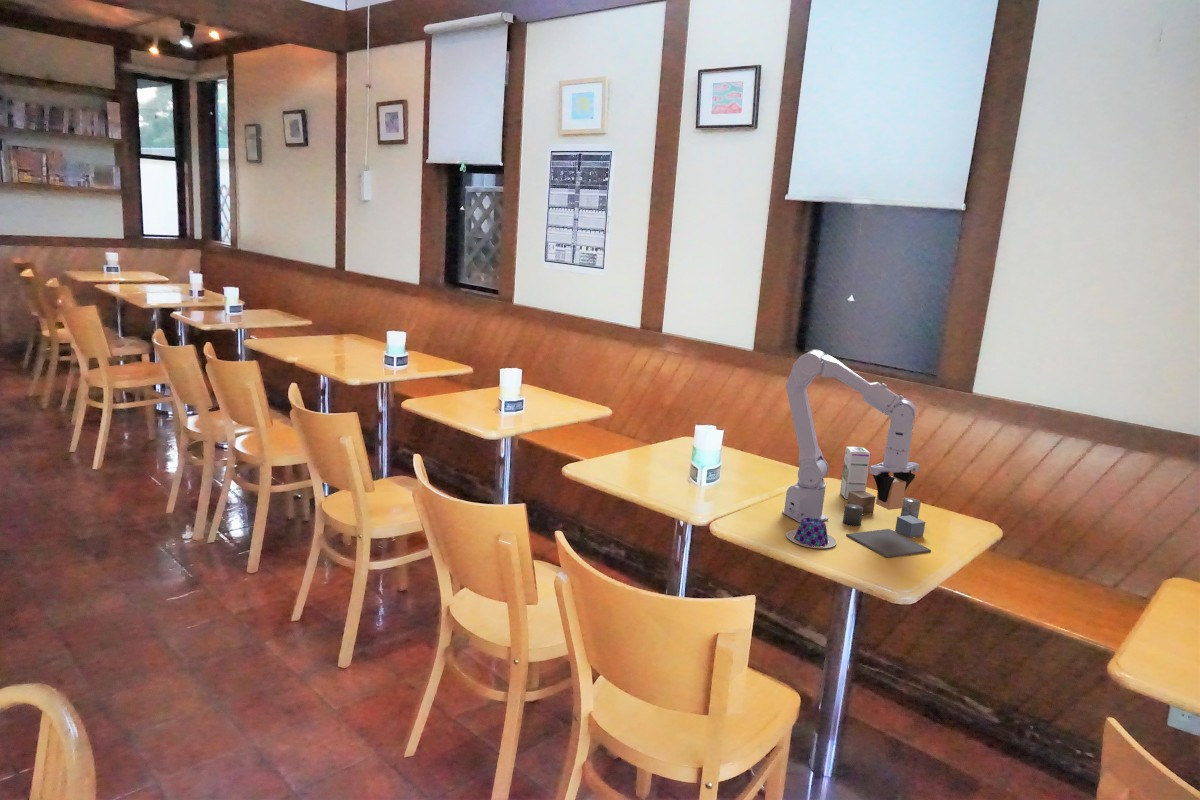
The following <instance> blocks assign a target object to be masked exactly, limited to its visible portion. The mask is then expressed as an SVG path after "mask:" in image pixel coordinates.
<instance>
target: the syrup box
mask: <svg viewBox="0 0 1200 800" xmlns="http://www.w3.org/2000/svg"><path fill="white" fill-rule="evenodd" d="M870 458H871V452H870V451H868V450H867V449H866V447H864V446H862V447H861V446H845V452H844V459H843V467H842V468H843V469H842V475H841V484H840V490H839V493H840V495H841V496H842V497H843V498H844V500H846V499H848V494H849V492H852V491H862V490H863V491H865V492H867V490H866V489H867V484H868V483H867V482H868V475H869V469H870V466H869V465H870V461H871V460H870Z"/></svg>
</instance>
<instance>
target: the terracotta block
mask: <svg viewBox="0 0 1200 800" xmlns="http://www.w3.org/2000/svg"><path fill="white" fill-rule="evenodd" d="M890 477H893V478H894V481H893V482H892V484H891V487H890V490H889V494H888V498H887V501H886V502H883V501H881V500H879V499H878V491H877V494H876V498H875V505H878V506H880V507H881V508H884V509H886V510H889V511H891V510H898V509H902V506H903V500H904V498H905V495H906V494H905V492H906V491H905V487H906V481H903V480H901V479H898V478H896V477H894V475H893V476H891V475H890Z"/></svg>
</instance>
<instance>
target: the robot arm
mask: <svg viewBox="0 0 1200 800" xmlns="http://www.w3.org/2000/svg"><path fill="white" fill-rule="evenodd" d="M820 374H821V378H835V379H837V380H839V381H840V382H842V383H843V384H845V385H847V386H849V387H850V388H852V389H854V390H855V391H858V393H860V394H861V395H862V399H863V401H864V402H865V403H866V404H868V405H870V406H871V407H872V408H874V409H876V411H877V410H878V411H879V412H880V413H881V414H883V415H884V416H888V418H889V419H890V422H889V427H888V430H887V436H886V443H885V450H884V455H883V462H880V463H877V464H873V465H870V466H869V474H871V475H872V476H873V479H874V483H875V486H876V491H877V492H878V499H879V500H881V501H883V502H886V501H887V498H888V494H889V490H890V487H891V484H892V482H893V481H894V478H893V477H896V478H898V479H901V480H903V481H906V487H905V492H906V491H907V488H908V487H909V485H910V483H912V481H914V479H915V476H916V474H915V472H917V473H918V472H919V469H920V467H919V466H920V464H919V463H917V462H914V461H913V462H911V461H909V457H910V452H911V445H912V438H913V434H914V433H913V429H914V421H915V418H916V415H917V407H916V405H915V404H914V403H913V401H912V400H911V399H908V398H904V396H903V395H902V394H900V395H898V394H897V393H895V392H893V390H890V389H889V388H888V387H887V386H888V384H886V383H884V382H882V383H880V382H878V381H876V382H869V381H867V380H866V379H864V378H863V377H862V376H860V375H859V374H857V373H856V372H855V371H853V370H852V369H850V368H849V367H847V365H845V364H844V363H842V362H841V361H839V360H838V359H836V358H835V357H833V356H831V355H829V354H826V353H825V352H824V351H822V350H820V349H810V350H809V351H807V352H806V353H804V354H802V355H800V356H799V357H798V358H797V359H796V361H795V362H794V363H793V364H792V368H791V371H790V373H789V376H788V379H787V381H786V384H785V387H786V393H787V398H788V403H789V408H790V412H791V417H792V421H793V427H794V432H795V435H796V442H797V446H798V452H799V453H798V465H799V467H798V470H797V471H798V472H797V478H798V480H797V483H795V484H794V485H791V486H788V487H787V490H786V495H785V502H784V508H783V509H784V510H782V511H781V513H782V514H784V515H786V516H787V517H789V518H791V519H792V520H794V521H797V522H798V523H800V522H801V520H802V519H803V518H808V517H810V518H817V519H819V520H822V521H828V520H829V517H827V516H825V515H824V514H823V508H824V502H825V494H826V487H827V484H826V482H825V480H824V477H826V476H827V475H828V473H829V464H828V462H827V460H826V459H825V458H824V456H823V453H822V450H821V448H820V446H819V444H818V438H817V433H816V428H815V423H814V419H813V413H812V408H811V404H810V400H809V395H808V387H809V386H810V384H812V381H814V379H815V378H816V377H817V376H819V375H820ZM912 472H914V473H912ZM891 474H893V477H891Z"/></svg>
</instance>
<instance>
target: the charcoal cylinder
mask: <svg viewBox="0 0 1200 800" xmlns="http://www.w3.org/2000/svg"><path fill="white" fill-rule="evenodd" d="M862 514H863V507H861V506H859V505H855V504H847V503H846V504H845V505H844V510H843V517H842V523H843V524H844V523H845V524H844V525H846V524H847V525H846V526H849V525H850V527H860V526H861V525H862V520H863V515H862Z"/></svg>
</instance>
